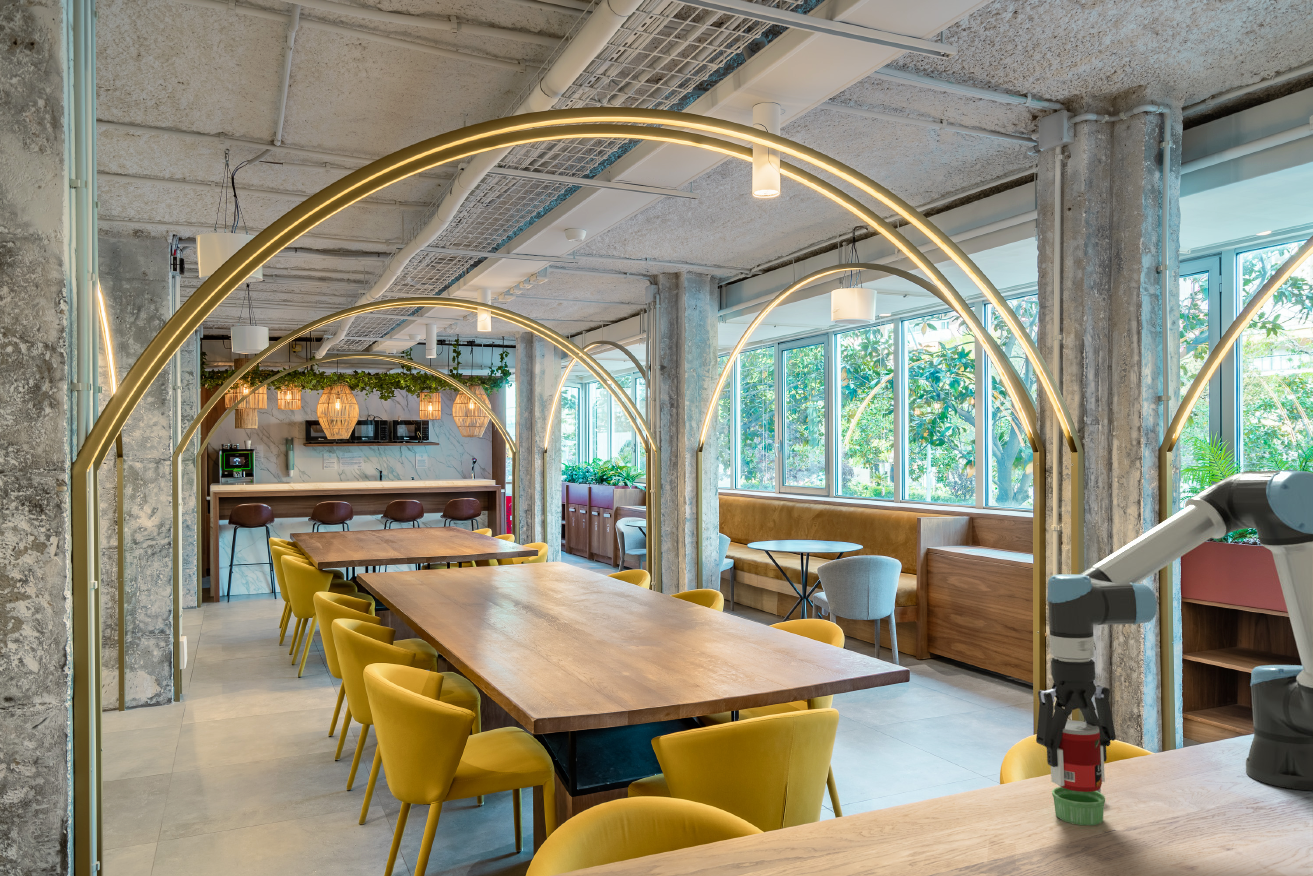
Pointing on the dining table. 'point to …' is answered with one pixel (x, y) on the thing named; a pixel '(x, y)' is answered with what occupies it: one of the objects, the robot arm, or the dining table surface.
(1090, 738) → the canned food
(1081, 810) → the ramekin
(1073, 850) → the dining table surface
